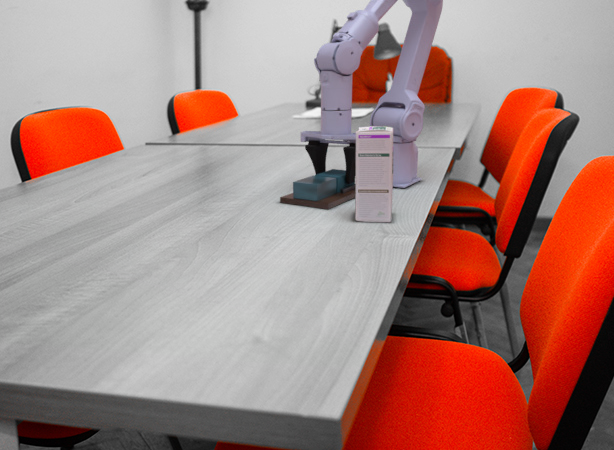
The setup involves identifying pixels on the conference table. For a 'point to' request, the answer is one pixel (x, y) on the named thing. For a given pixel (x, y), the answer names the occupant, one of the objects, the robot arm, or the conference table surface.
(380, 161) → the syrup box
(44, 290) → the conference table surface
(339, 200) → the assembly board
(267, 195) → the conference table surface
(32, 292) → the conference table surface
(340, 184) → the loose pad
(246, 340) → the conference table surface
